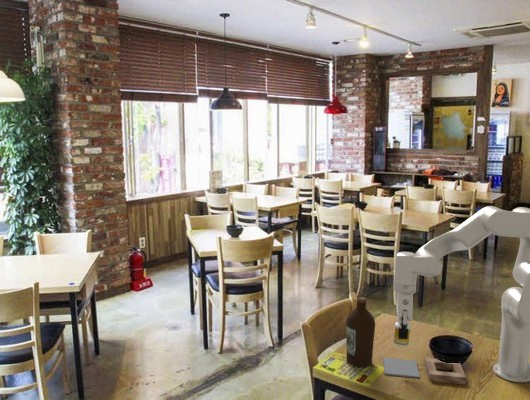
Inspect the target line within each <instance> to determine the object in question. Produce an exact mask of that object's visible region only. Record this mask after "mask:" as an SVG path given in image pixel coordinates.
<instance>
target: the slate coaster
mask: <svg viewBox="0 0 530 400" xmlns="http://www.w3.org/2000/svg"><path fill="white" fill-rule="evenodd" d="M382 363H383V370H384V372H383V373H384V376H392V377H393V376H394V377H402V378H403V377H404V378H411V379H412V378H413V379H421V375H420V370H419V368H418V365H417V364H418V363H417V360H413V359H404V358H394V357H393V358H392V357H382Z"/></svg>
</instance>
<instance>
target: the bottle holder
mask: <svg viewBox="0 0 530 400" xmlns="http://www.w3.org/2000/svg"><path fill="white" fill-rule="evenodd" d="M438 359H439V358H432V357H431V358H430V357H424V368H425V371H426V374H427V377H428V381H429V382H439V383H446V384H447V383H448V384H459V385H467V375H466V373H465V372H464V369H463V367H462V364H461V362H460V363H445V362H442V361H440V360H438ZM440 370H444V371H440ZM447 370H448V371H447ZM450 371H451V372H450Z"/></svg>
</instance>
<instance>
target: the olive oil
mask: <svg viewBox="0 0 530 400" xmlns="http://www.w3.org/2000/svg"><path fill="white" fill-rule="evenodd" d="M375 330H376V321H375V317H374V316H373V314H372V313H371V312H370V311H369V310H368V309H367V297H365V296H357V298H356V307H355V308H354V309H353V310H352V311H350V312H349V313H348V315H347V317H346V319H345V333H346V335H345V337H346V338H345V339H346V345H345V346H346V362H347V364H348V365H350V366H352V367H355V368H367V367H370V366H372V364H373V363H372V362H373V353H374V351H373V350H374V344H375V343H374V342H375V332H376V331H375Z"/></svg>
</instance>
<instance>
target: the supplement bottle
mask: <svg viewBox="0 0 530 400" xmlns="http://www.w3.org/2000/svg"><path fill="white" fill-rule="evenodd" d="M401 319H403V318H401ZM397 321H398V322H397ZM402 323H403V321H402ZM402 323H401V324H402ZM409 323H410V321H409V319H408V339H399V338H398V332H399V327H400V320H399V319H398V318H397V320H396V322H395V323H394V329H393V330H394V331H393V339H392V341H393V344H394V345H395V346H398V347H402V348H403V347H407V346H409V343H410V335H411V334H410V333H411V325H410V324H409Z"/></svg>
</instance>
